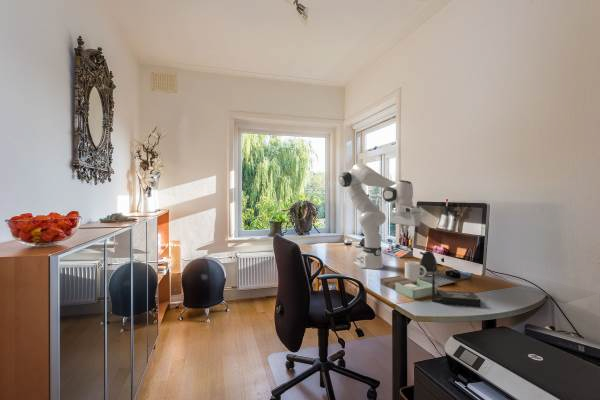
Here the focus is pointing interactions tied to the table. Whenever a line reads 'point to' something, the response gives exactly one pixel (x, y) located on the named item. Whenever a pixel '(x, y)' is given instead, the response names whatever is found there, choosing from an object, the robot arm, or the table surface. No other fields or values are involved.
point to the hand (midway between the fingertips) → (404, 232)
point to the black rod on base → (455, 297)
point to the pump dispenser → (428, 263)
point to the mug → (413, 270)
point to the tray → (416, 290)
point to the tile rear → (410, 286)
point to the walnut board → (396, 281)
